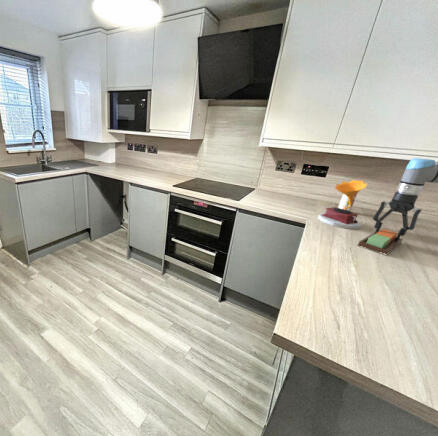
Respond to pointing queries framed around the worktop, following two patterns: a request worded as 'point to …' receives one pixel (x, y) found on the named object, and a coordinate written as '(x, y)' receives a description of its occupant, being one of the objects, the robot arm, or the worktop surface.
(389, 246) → the frame
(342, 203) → the aerosol can
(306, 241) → the worktop surface
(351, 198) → the gramophone
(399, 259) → the worktop surface
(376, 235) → the pad
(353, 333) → the worktop surface
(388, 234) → the pad
